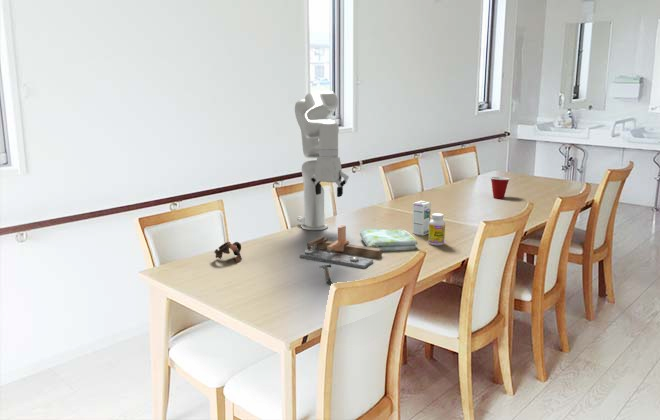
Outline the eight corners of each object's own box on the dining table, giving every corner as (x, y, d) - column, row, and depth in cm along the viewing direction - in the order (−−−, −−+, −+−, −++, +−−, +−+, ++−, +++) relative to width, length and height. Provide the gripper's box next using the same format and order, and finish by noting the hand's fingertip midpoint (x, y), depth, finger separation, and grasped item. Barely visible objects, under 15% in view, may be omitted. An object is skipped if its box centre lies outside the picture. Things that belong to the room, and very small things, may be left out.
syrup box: (423, 235, 258) (424, 204, 255) (412, 233, 262) (413, 202, 259) (430, 233, 262) (431, 202, 259) (419, 230, 266) (420, 200, 263)
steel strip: (299, 257, 229) (299, 252, 228) (309, 252, 236) (309, 246, 235) (364, 268, 216) (364, 262, 216) (372, 262, 223) (373, 256, 223)
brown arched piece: (235, 266, 220) (223, 249, 219) (219, 273, 226) (207, 255, 224) (251, 250, 230) (240, 233, 228) (235, 256, 235) (224, 240, 233)
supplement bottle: (432, 246, 243) (433, 216, 240) (425, 242, 249) (426, 213, 246) (447, 245, 245) (448, 215, 241) (440, 240, 251) (441, 212, 248)
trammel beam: (304, 255, 232) (303, 243, 231) (320, 246, 244) (320, 234, 242) (367, 265, 219) (368, 253, 218) (382, 255, 231) (382, 243, 230)
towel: (418, 250, 239) (419, 238, 238) (368, 253, 236) (368, 240, 235) (406, 237, 257) (406, 226, 255) (359, 240, 253) (359, 229, 252)
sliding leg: (323, 256, 228) (323, 233, 225) (340, 246, 240) (340, 224, 238) (332, 257, 226) (332, 234, 223) (349, 247, 238) (349, 225, 236)
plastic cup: (510, 197, 335) (512, 176, 332) (505, 200, 326) (506, 179, 323) (492, 195, 341) (493, 175, 338) (486, 198, 332) (487, 177, 329)
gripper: (305, 153, 232) (305, 195, 236) (344, 155, 224) (344, 199, 228) (314, 150, 238) (314, 191, 242) (352, 153, 230) (352, 195, 234)
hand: (328, 195), depth 235 cm, fingers open, 9 cm apart
